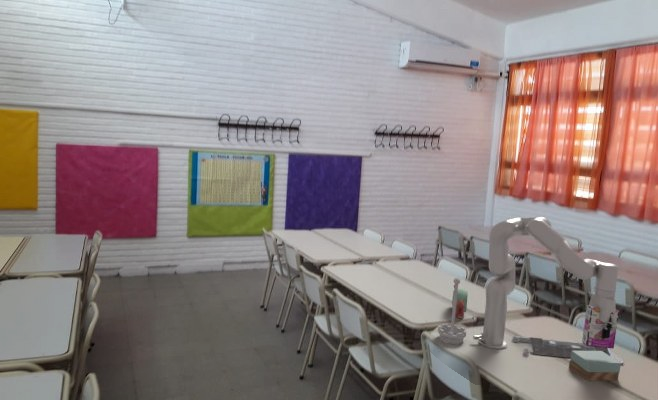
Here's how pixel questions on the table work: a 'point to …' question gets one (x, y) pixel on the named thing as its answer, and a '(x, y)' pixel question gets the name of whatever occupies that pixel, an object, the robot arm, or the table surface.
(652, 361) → the table surface
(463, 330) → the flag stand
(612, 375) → the tower base slab
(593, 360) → the tower top slab
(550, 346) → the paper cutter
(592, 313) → the candy bar box
